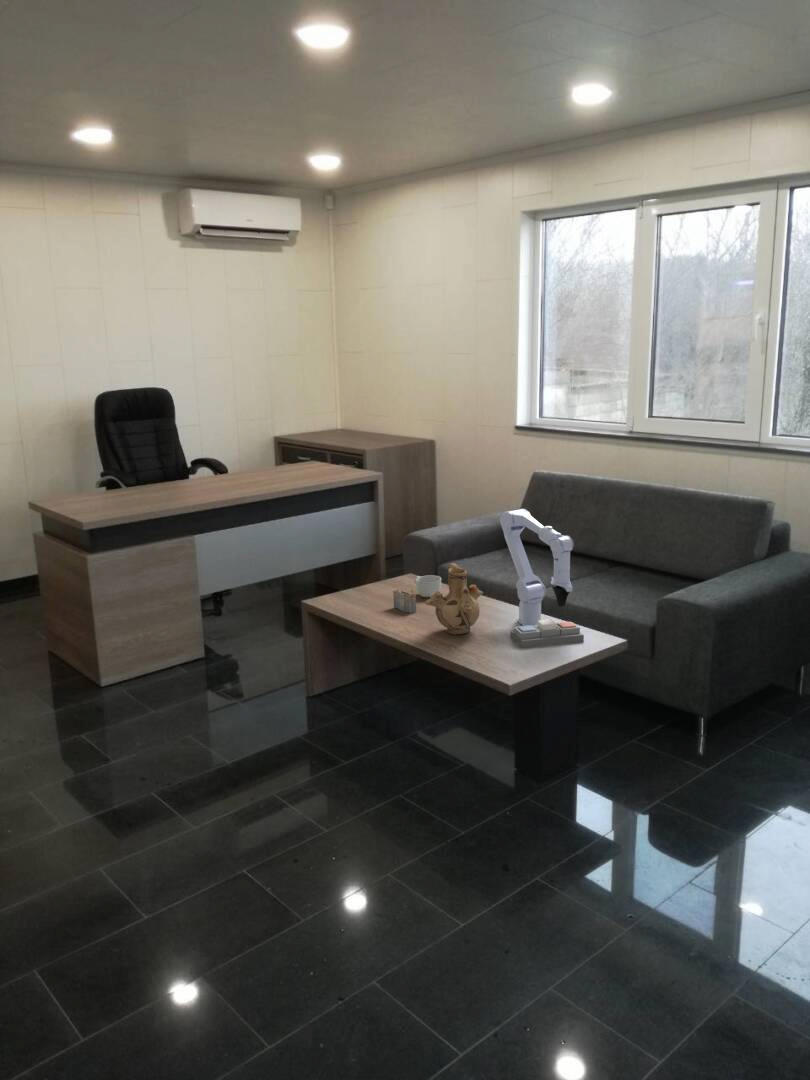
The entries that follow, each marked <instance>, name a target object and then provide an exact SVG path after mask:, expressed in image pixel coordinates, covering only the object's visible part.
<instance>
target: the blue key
mask: <svg viewBox="0 0 810 1080" xmlns="http://www.w3.org/2000/svg"><path fill="white" fill-rule="evenodd" d="M517 627H518V629H519V630H520V631H521V632H532V631H536V629H535V628H534V627H533V626H531V625H529V626H523V625H520V626H517Z"/></svg>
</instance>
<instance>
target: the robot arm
mask: <svg viewBox="0 0 810 1080" xmlns="http://www.w3.org/2000/svg"><path fill="white" fill-rule="evenodd" d="M499 523H500V525H501V528H502V532H503V537H504V540H505V542H506V544H507V547H508V550H509V553H510V556H511V559H512V562H513V564H514V567H515V570H516V573H517V575H518V578H519V579H518V581H517V582H516V584H515V586H516V590H517V591H516V593H517V597H518V599H519V600H520V601H519V604H518V618H517V619H516V621H517V622H518V623H519V624H521V626H529V625H531V626H534V625H538V621H540V620H542V601H543V598H544V597H545V596H546V593H547V590H546V586H545V585H544V583H542V580H541V577H539V576H538V575H536V574H534V573H533V572H534V571H533V569H532V567H531V564H530V562H529V558H528V555H527V553H526V551H525V547H524V545H523V543H522V539H521V536H520V535H521V533H522V532H523V530H524V529H525V528H527V529H529V530H531V531H532V532H533V533H536V535H537V534H538V538H539V540H540V541H542V542H543V543H544V544H546V545H548V546H549V547H550V551H551V552H552V557H553V576H551V581H550V584H551V585H552V590H553V592H554V595H555V598H556V603H557V606H558V607H565V606H566V603H567V599H568V596H569V595H570V592H573V585H572V584H571V580H570V579H571V577H570V576H571V572H570V571H571V551H573V550H574V549H573V548H574V546H575V543H574V540H573V539H572V538H571V536H570V535H566V534H565V535H564V534H563V535H562V533H561V532H558V531H556V530H555V529H553V528H554V527H553V526H551V525H545V526H544V525H543V524H541V523H540V522H539V521H538V520H537V519H536V518H534V517H533V516H532V515H531V513H530V511H528V510H527V509H526V508H520V509H515V510H509V511H507V510H506V511H503V512H502V514H501V516H500V518H499Z"/></svg>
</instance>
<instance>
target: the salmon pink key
mask: <svg viewBox="0 0 810 1080" xmlns="http://www.w3.org/2000/svg"><path fill="white" fill-rule="evenodd" d="M571 622H572V621H561V622H556V623H557V625H558V626H559V627H561V628H562V629H563V628H573V627H576V625H577V624H576V625H574V624H575V623H574V622H573V623H574V624H573V623H571Z"/></svg>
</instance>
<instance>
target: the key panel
mask: <svg viewBox="0 0 810 1080" xmlns="http://www.w3.org/2000/svg"><path fill="white" fill-rule="evenodd" d="M570 622H571V623H573V624H574V625H576V627H573V628H563V629H562V628H561V627H559V626H558V625H557V623H558V622H555V623H556V629H553V630H543V631H542V630H541V629H540V628H539V627H538V625H534V626H533V627H534V628H535V629H536V631H532V632H521V631H520V630H519V629H518V627H519V626H514V627H513V630H510V639H512V640H513V641H514V642H515V643H516V644H518V645H519V647H521V649H526V648H534V647H545V646H553V645H562V644H563V645H564V644H565V645H566V644H572V643H573V644H574V643H581V642H582V643H583V642H584V640H585V639H584V638H585V637H584V636H585V635H584V634H583V633H582V632H581V628H580V626H578V625H577V624H575V623H574V622H572V621H570Z"/></svg>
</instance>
